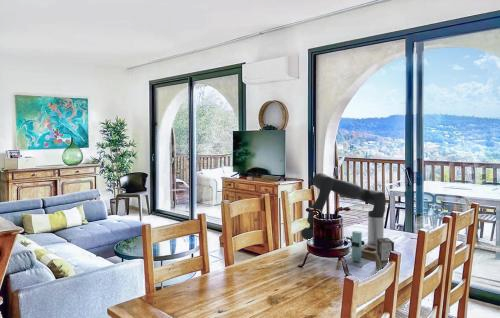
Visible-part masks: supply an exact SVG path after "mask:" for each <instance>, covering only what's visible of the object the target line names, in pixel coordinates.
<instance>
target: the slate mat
mask: <svg viewBox="0 0 500 318" xmlns="http://www.w3.org/2000/svg"><path fill="white" fill-rule="evenodd" d="M371 262H372V261H371V260H366V259H362V258H361V261H353V260H352V257H350V258H348V259H346V263H347V264H346V265H348V266H353V267H357V268H363V267H364V266H365V265H368V264H370V263H371Z"/></svg>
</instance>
